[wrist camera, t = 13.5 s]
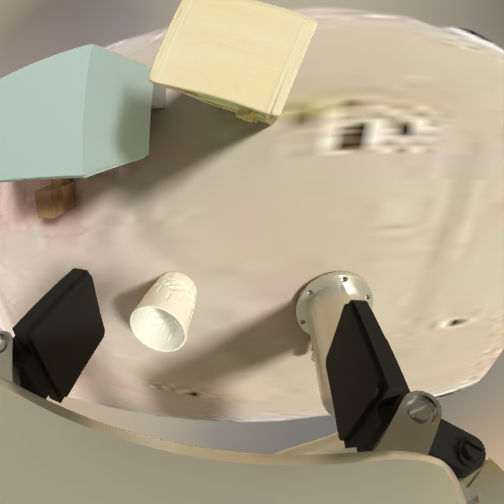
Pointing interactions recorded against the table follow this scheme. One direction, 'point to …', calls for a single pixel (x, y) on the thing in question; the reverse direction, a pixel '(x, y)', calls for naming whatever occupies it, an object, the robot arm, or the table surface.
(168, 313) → the white cup
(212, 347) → the table surface
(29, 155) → the cabinet
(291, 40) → the toy refrigerator
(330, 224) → the table surface
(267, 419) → the table surface
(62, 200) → the brown boxy piece
